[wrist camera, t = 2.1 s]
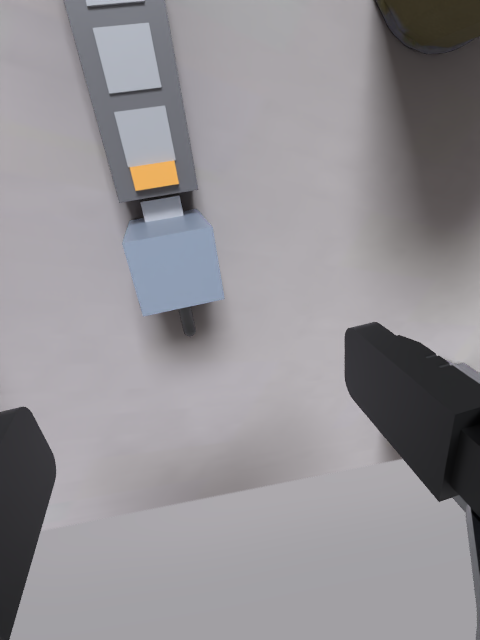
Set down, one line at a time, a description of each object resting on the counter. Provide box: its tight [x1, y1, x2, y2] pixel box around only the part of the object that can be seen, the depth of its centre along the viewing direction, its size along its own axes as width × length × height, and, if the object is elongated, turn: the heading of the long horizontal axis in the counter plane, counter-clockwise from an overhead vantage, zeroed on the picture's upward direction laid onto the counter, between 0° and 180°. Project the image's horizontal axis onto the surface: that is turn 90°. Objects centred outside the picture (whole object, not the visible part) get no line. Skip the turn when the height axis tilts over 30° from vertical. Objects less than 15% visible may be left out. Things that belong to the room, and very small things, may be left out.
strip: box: [64, 0, 198, 203], centre depth 19 cm, size 4×12×4 cm, turn 8°
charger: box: [122, 195, 224, 336], centre depth 22 cm, size 4×10×7 cm, turn 8°
